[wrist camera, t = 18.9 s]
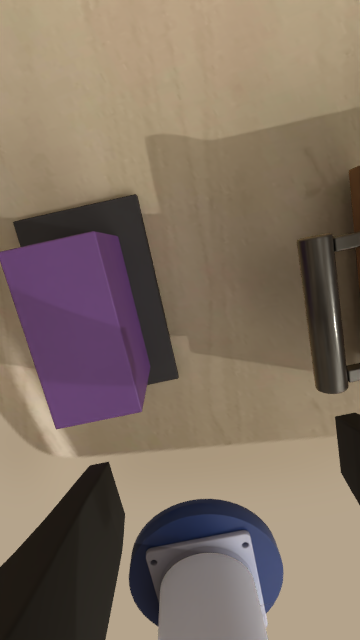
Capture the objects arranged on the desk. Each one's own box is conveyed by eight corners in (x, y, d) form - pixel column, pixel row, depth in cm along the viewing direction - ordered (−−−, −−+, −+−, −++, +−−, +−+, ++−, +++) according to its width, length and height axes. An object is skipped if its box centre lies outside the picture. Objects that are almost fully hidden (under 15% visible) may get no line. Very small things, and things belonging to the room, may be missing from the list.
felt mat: (178, 375, 20) (178, 378, 20) (71, 397, 21) (68, 401, 20) (137, 195, 18) (136, 193, 18) (16, 222, 18) (12, 221, 18)
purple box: (118, 235, 18) (94, 230, 13) (150, 367, 20) (142, 412, 14) (48, 250, 18) (-4, 252, 13) (87, 380, 20) (55, 430, 15)
